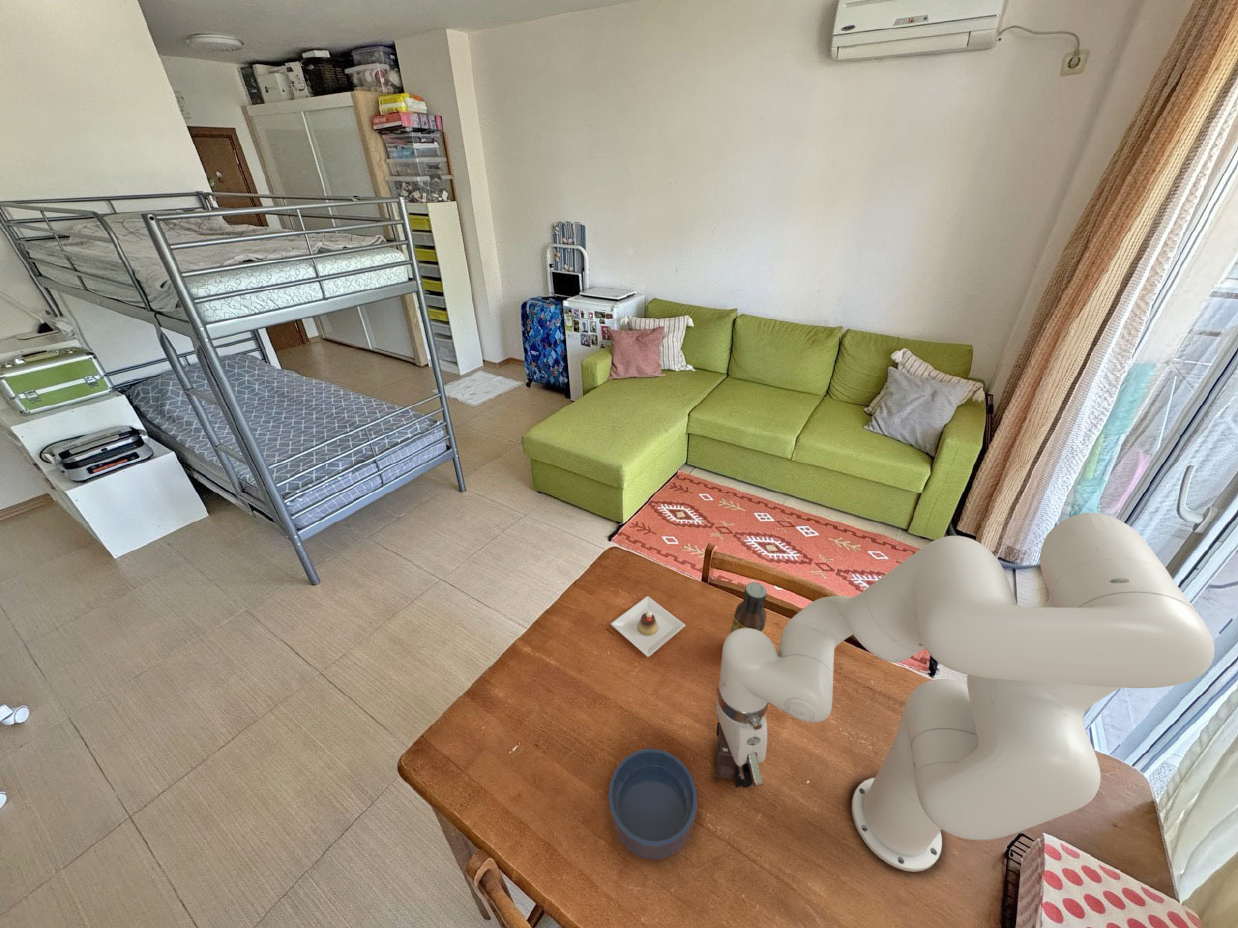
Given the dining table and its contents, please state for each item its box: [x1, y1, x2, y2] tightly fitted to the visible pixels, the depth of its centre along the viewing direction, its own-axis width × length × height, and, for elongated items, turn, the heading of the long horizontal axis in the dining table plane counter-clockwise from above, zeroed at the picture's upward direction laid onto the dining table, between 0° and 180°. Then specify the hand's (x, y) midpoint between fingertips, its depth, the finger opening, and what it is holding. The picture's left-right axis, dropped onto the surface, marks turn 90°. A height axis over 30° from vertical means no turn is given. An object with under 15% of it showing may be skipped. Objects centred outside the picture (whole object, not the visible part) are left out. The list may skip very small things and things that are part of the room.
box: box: [715, 721, 749, 780], centre depth 84 cm, size 6×6×7 cm
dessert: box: [610, 595, 686, 658], centre depth 110 cm, size 12×12×5 cm
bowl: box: [607, 747, 698, 861], centre depth 79 cm, size 14×14×6 cm
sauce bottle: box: [730, 581, 768, 633], centre depth 99 cm, size 6×6×20 cm
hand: (734, 757), depth 85 cm, fingers closed on box, 7 cm apart
